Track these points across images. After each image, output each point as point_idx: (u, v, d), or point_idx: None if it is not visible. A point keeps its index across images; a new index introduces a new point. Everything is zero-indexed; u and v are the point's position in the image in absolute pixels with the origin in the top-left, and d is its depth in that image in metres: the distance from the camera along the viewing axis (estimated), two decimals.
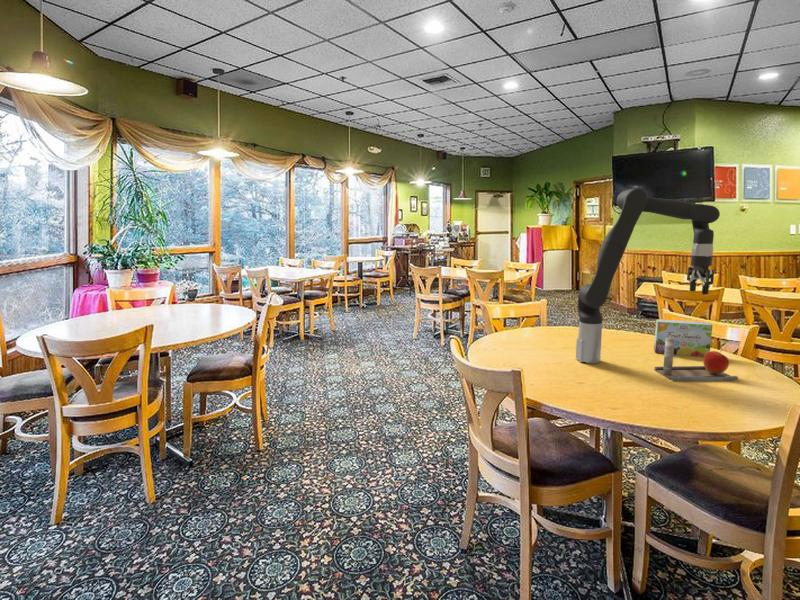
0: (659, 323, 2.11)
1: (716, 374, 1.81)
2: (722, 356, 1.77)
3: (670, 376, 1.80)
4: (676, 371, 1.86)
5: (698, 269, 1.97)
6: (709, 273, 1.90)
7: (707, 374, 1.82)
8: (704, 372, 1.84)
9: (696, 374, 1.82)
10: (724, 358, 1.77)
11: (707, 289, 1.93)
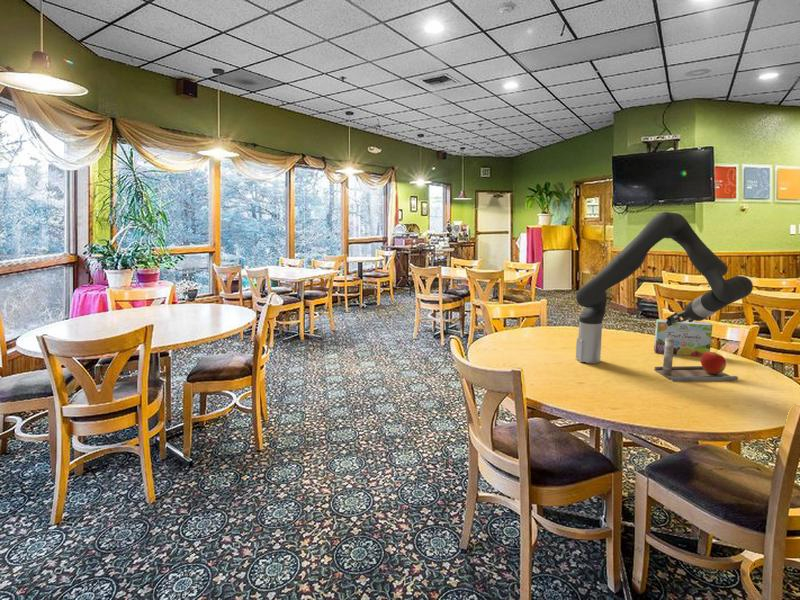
0: (659, 323, 2.11)
1: (716, 374, 1.81)
2: (716, 356, 1.78)
3: (670, 376, 1.80)
4: (676, 371, 1.86)
5: None
6: (673, 315, 1.73)
7: (707, 374, 1.82)
8: (704, 372, 1.84)
9: (696, 374, 1.82)
10: (719, 358, 1.78)
11: (668, 323, 1.79)
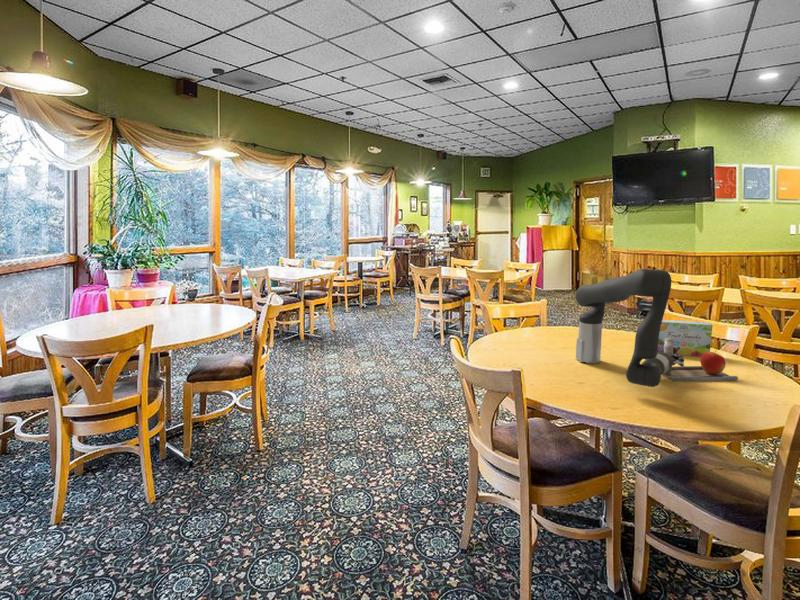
0: None
1: (715, 374, 1.81)
2: (716, 356, 1.78)
3: (669, 376, 1.80)
4: (675, 371, 1.86)
5: None
6: None
7: (706, 374, 1.82)
8: (703, 372, 1.84)
9: (695, 374, 1.82)
10: (718, 357, 1.78)
11: None
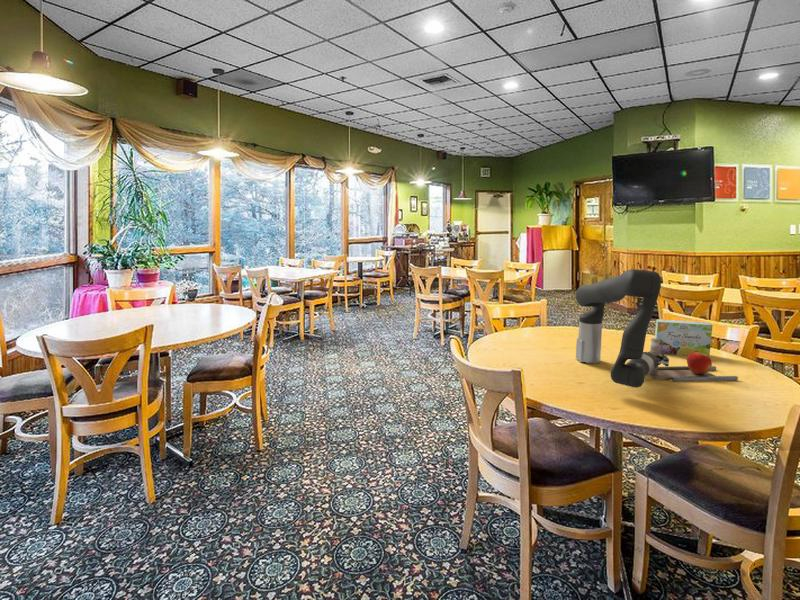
0: (659, 323, 2.11)
1: (702, 374, 1.81)
2: (702, 356, 1.78)
3: (656, 376, 1.80)
4: (662, 371, 1.86)
5: None
6: None
7: (693, 374, 1.82)
8: (690, 372, 1.84)
9: (682, 374, 1.82)
10: (704, 358, 1.78)
11: None
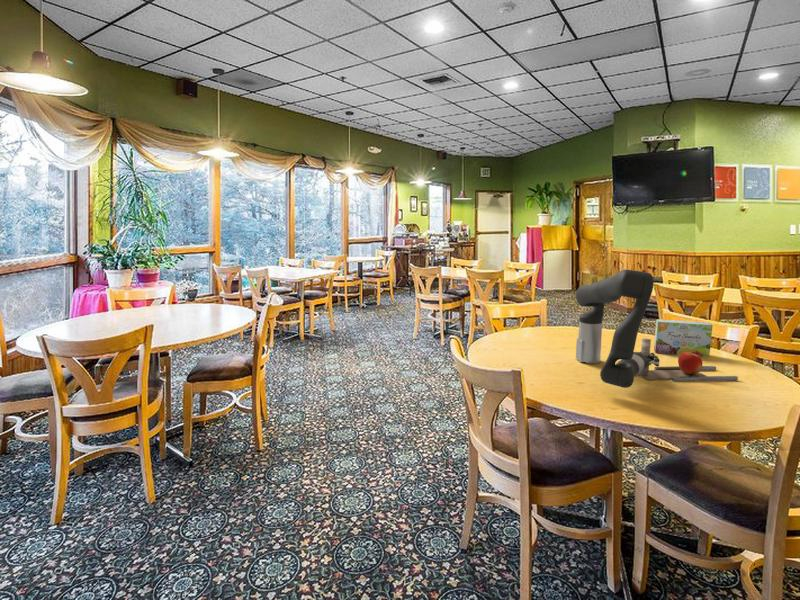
0: (659, 323, 2.11)
1: (692, 374, 1.81)
2: (693, 356, 1.78)
3: (646, 376, 1.80)
4: (653, 371, 1.86)
5: None
6: None
7: (684, 374, 1.82)
8: (681, 372, 1.84)
9: (673, 374, 1.82)
10: (695, 358, 1.78)
11: None
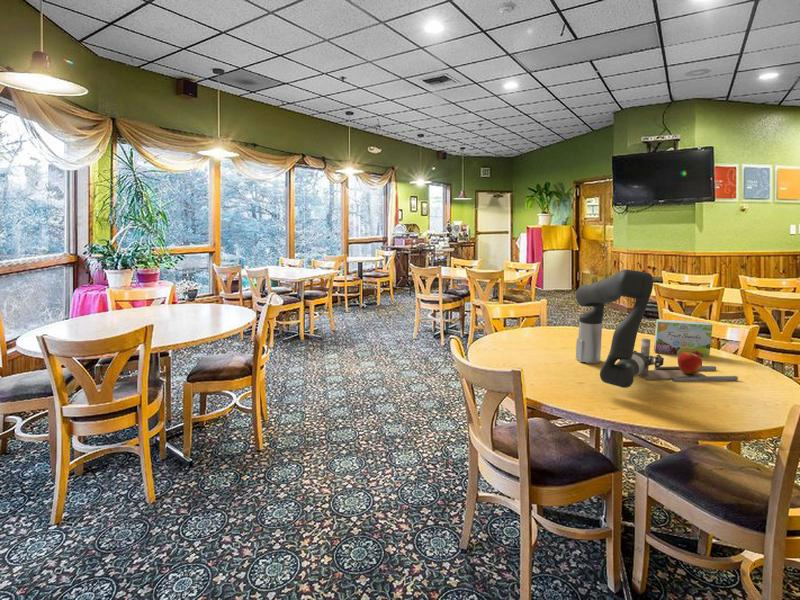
0: (659, 323, 2.11)
1: (692, 374, 1.81)
2: (692, 356, 1.78)
3: (646, 376, 1.80)
4: (653, 371, 1.86)
5: None
6: None
7: (683, 374, 1.82)
8: (680, 372, 1.84)
9: (672, 374, 1.82)
10: (694, 358, 1.78)
11: None
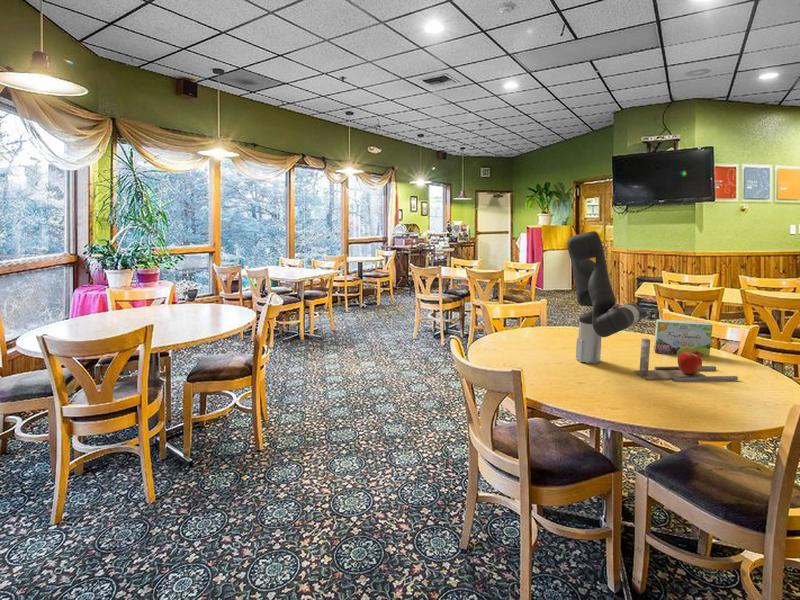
0: (659, 323, 2.11)
1: (692, 374, 1.81)
2: (692, 356, 1.78)
3: (646, 376, 1.80)
4: (653, 371, 1.86)
5: None
6: None
7: (683, 374, 1.82)
8: (680, 372, 1.84)
9: (672, 374, 1.82)
10: (694, 358, 1.78)
11: None
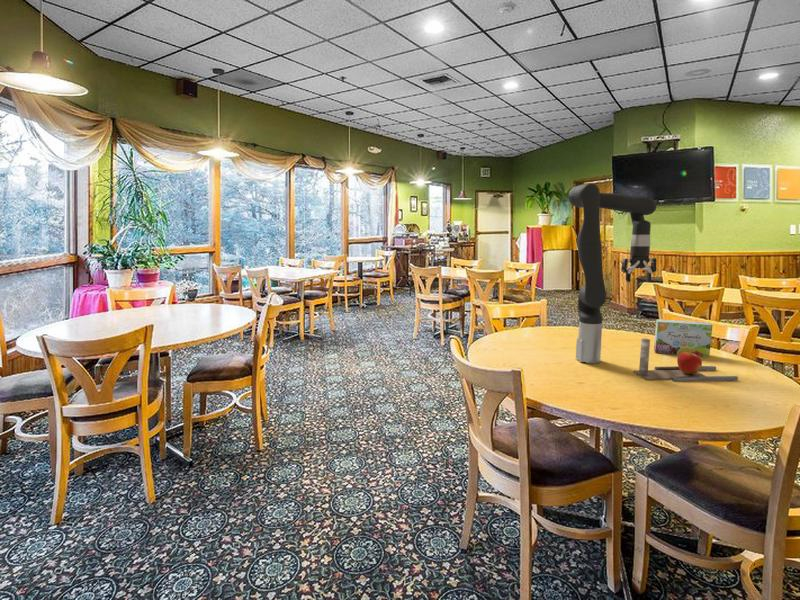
0: (659, 323, 2.11)
1: (692, 374, 1.81)
2: (692, 356, 1.78)
3: (646, 376, 1.80)
4: (652, 371, 1.86)
5: None
6: (623, 261, 2.07)
7: (683, 374, 1.82)
8: (680, 372, 1.84)
9: (672, 374, 1.82)
10: (694, 358, 1.78)
11: (626, 277, 2.08)
